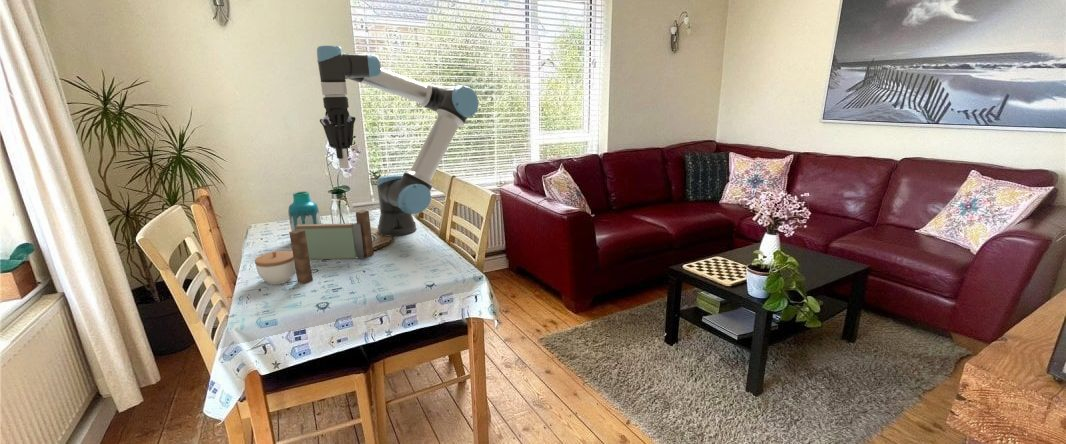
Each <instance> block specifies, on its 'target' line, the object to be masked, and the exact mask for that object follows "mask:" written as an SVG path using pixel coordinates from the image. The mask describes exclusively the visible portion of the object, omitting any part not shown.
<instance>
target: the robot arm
mask: <svg viewBox="0 0 1066 444" xmlns="http://www.w3.org/2000/svg"><path fill="white" fill-rule="evenodd" d="M316 58H317V65H318V71H319V78H320V86H321V94H322V96H323V98H322V101H323V107H324V109H325V113H324V114H325V115H324V117H323V118H319V122H320V124H321V125H322V127H323V130H324V133H325V136H326V139H327V141H328V144H329V147H330V148H331V149H334V150H335V152H336V153H335V154H336V158H337V159H338V164H339V168H340V169H349V168H350V165H349V159H348V158H349V154H350V153H349V149H350V148H351V146H353V143H354V140H353V139H354V130H355V129H354V127H355V126H354V125H355V122H356V117H355V116H351V114H350V112H349V110H348V108H349V98H348V97H347V95H348V89H347V83H346V80H351V81H354V82H357V83H360V84H364V85H366V86H370V87H372V88H375V89H378V90H380V91H384V92H386V93H389V94H393V95H396V96H399V97H401V98H404V99H406V100H407V99H408V100H410V101H413V102H416V103H418V104H419V106H420V107H423V108H425V109H429V110H430V111H433V112H436V113H437V118H436V119H435V122H433V123H434V124H433V126H432V127H431V130H430V131H429V133H428V135H427V137H426V139H425V141H424V143H423V145H422V147H421V149H420V151H419V153H418V154H417V156H416V158H415V160H414V161H413V162H414V163H413V164H412V167H411V168H410V169H409V170H408V171H405V172H404V173H401V174H398V173H397V174H392V175H391V174H390V175H383V176H380V177H378V178H377V179H376V181H377V185H376V187H377V193H378V202H379V210H380V216H379V221H378V224H377V232H378V234H379V235H381V234H382V235H381V236H386V235H391V236H390V237H392V236H393V237H394V236H395V237H396V236H404V235H408V234H412V233H413V232H415V231H416V230H417V224H416V221H415V220H414V217H413V215H417V214H421V213H423V212H424V211H425V210H427V209H428V208H429V206H430V204H431V201H432V195H431V194H432V193H431V191H432V188H433V183H432V179H433V177H434V176H435V173H436V171H437V169H438V167H439V166H440V163H441V161H442V159H443V158H444V156H445V153H446V152H447V150H448V147H449V146H450V144H451V142H452V140H453V138H454V136H455V134H456V132H457V130H458V128H459V127H464V125H465V123H466V121H467V120H468V118H470V117H472V116H474V115H475V114H476V113H477V111H478V109H479V100H478V95H477V93H476V91H475V90H474V89H473V88H472V87H470V86H467V85H463V84H458V85H436V84H433V83H429V82H426V83H422V82H419V81H417V80H415V79H411V78H408V77H406V76H403V75H400V74H398V73H395V72H392V71H389V70H387V69H384V68H382V65H381V61H380V58H379V57H378V55H376V54H373V53H346V52H343V49H342V47H341V46H339V45H320V46H318V47H317V48H316Z"/></svg>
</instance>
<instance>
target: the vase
mask: <svg viewBox="0 0 1066 444" xmlns="http://www.w3.org/2000/svg"><path fill="white" fill-rule="evenodd" d="M292 197H293V198H292V199H293V202H292V203H290V204H289V205H288V221H289V227H290V232H291V231H294V230H296V229H295V226H296V225H304V224H322V223H321V222H322V221H321V215H320V210H319V207H318V204H317V203H316V201H313V200H312V199H311V196H310V193H309V191H303V190H302V191H295V192H293V193H292Z"/></svg>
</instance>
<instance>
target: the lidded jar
mask: <svg viewBox="0 0 1066 444" xmlns="http://www.w3.org/2000/svg"><path fill="white" fill-rule="evenodd" d="M254 264H255V268H256V270H257V271H256V272H257V273H258V275H259V277H260V278H261V280H263V281H264V282H266V283H267V284H268V285H272V286H273V285H281V284H285V283H287V282H289V281H290V280H291V278H292V277H293V276H294V274H295V273H296V269H295V263H294V258H293V252H292V251H290V250H289V251H288V250H279V251H276V250H273V251H272V252H269V253H264V254H262V255H259V256H257V257H255V259H254Z"/></svg>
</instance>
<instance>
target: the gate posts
mask: <svg viewBox="0 0 1066 444" xmlns="http://www.w3.org/2000/svg"><path fill="white" fill-rule="evenodd" d="M355 219H356V223H360V225H361V233H362V241H363V249H364V258H369V257H371V256H374V253H375V252H374V247H373V246H374V245H373V236H372V229H371V220H370V212H369V210H367V209H366V210H365V209H361V210H357V211H355ZM288 234H289V238H290V239H289V240H290V245H291V252H293V258H294V263H295V274H296V281H297V283H300V284H303V285H305V284H307V283H309V282H313V281H314V278H313V273H312V267H311V261H310V260H311V259H309V253H308V246H307V240H306V234H305V230H299V229H298V230H294V231H291V230H290V231H288Z"/></svg>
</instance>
